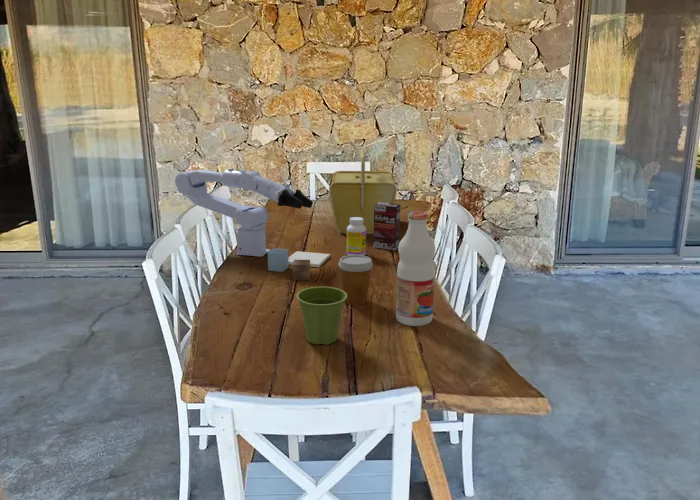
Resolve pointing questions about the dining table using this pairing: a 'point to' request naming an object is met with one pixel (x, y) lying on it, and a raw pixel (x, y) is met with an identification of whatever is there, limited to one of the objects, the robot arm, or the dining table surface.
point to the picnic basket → (359, 195)
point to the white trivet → (309, 258)
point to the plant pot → (321, 313)
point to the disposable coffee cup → (355, 277)
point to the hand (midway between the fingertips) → (306, 205)
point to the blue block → (278, 260)
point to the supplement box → (386, 225)
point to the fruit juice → (415, 273)
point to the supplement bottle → (356, 237)
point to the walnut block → (301, 269)
